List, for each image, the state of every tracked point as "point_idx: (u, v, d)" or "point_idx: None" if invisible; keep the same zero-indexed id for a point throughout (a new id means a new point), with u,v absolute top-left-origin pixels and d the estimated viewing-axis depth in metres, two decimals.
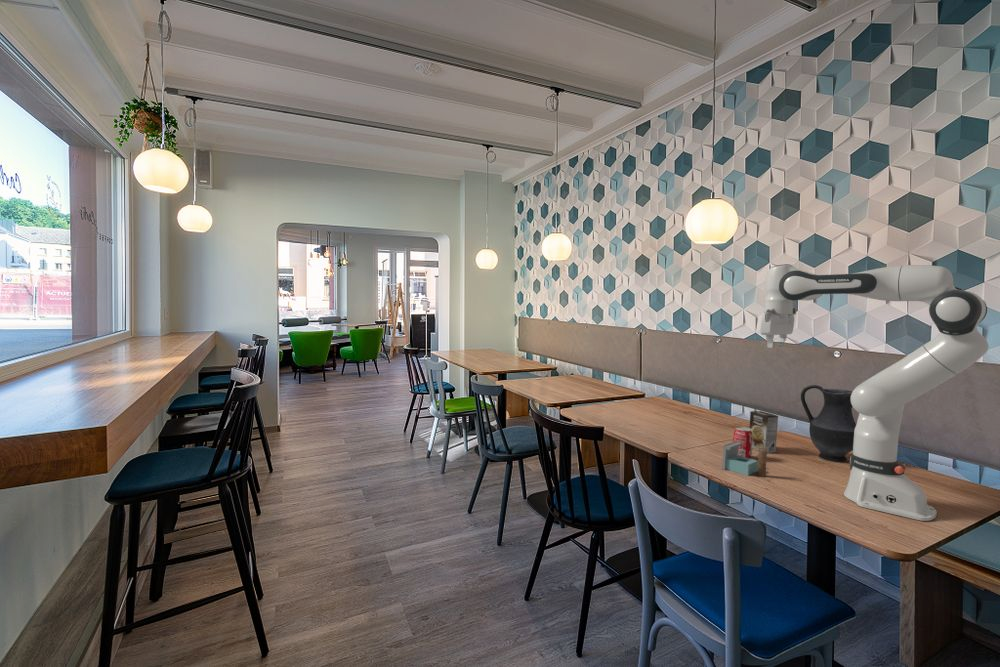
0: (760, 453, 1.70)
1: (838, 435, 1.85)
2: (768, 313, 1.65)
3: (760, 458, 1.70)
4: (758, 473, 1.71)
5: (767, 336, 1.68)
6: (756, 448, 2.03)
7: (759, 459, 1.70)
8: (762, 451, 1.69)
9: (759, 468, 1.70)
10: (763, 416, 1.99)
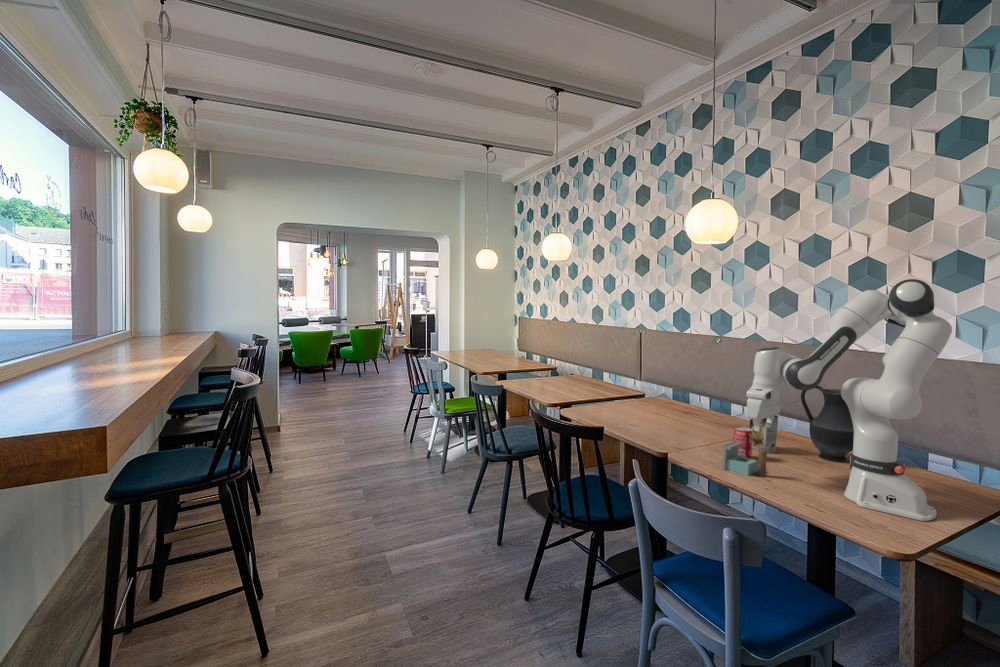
0: (760, 453, 1.70)
1: (838, 435, 1.85)
2: None
3: (760, 458, 1.70)
4: (758, 473, 1.71)
5: None
6: (756, 448, 2.03)
7: (759, 459, 1.70)
8: (762, 451, 1.69)
9: (759, 468, 1.70)
10: None
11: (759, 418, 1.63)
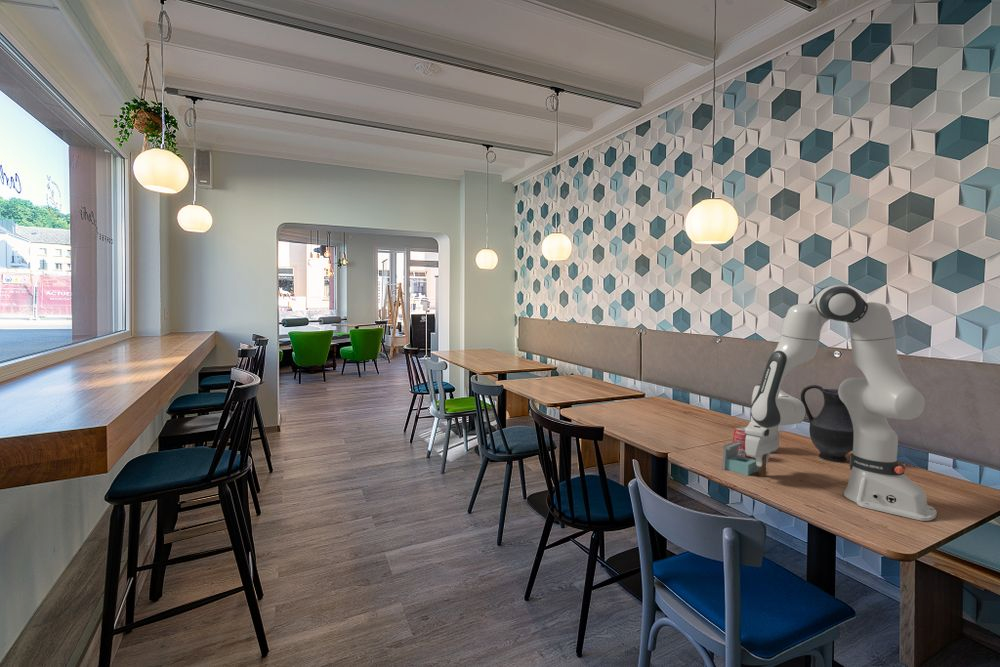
0: None
1: (838, 435, 1.85)
2: None
3: None
4: (758, 473, 1.71)
5: None
6: None
7: None
8: None
9: (759, 468, 1.70)
10: None
11: (758, 455, 1.64)
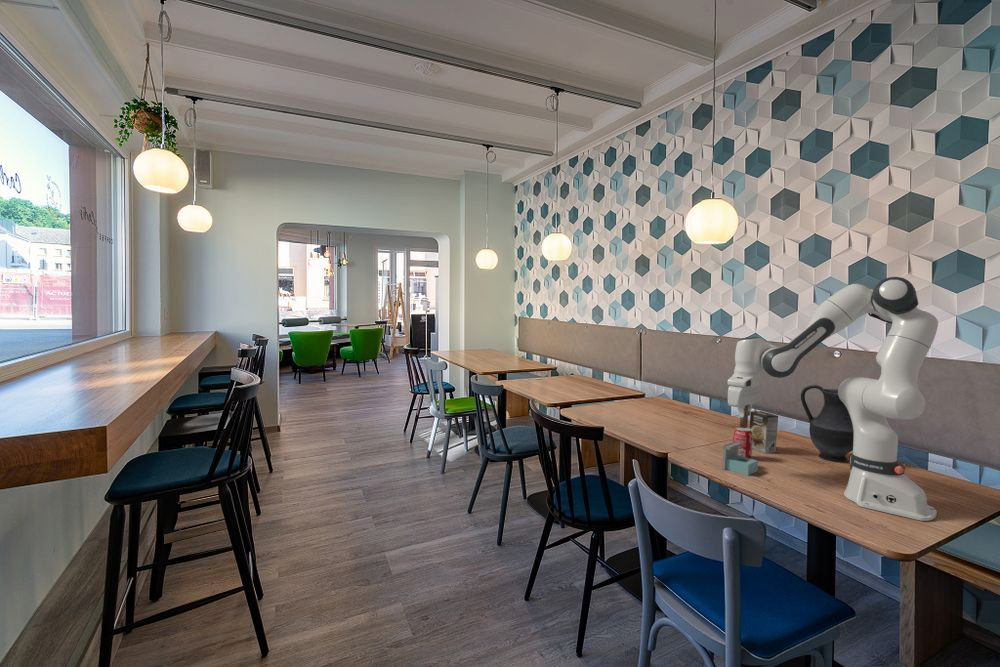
0: None
1: (838, 435, 1.85)
2: None
3: None
4: (740, 424, 1.75)
5: None
6: (756, 448, 2.03)
7: None
8: None
9: (741, 419, 1.75)
10: (763, 416, 1.99)
11: (739, 405, 1.69)
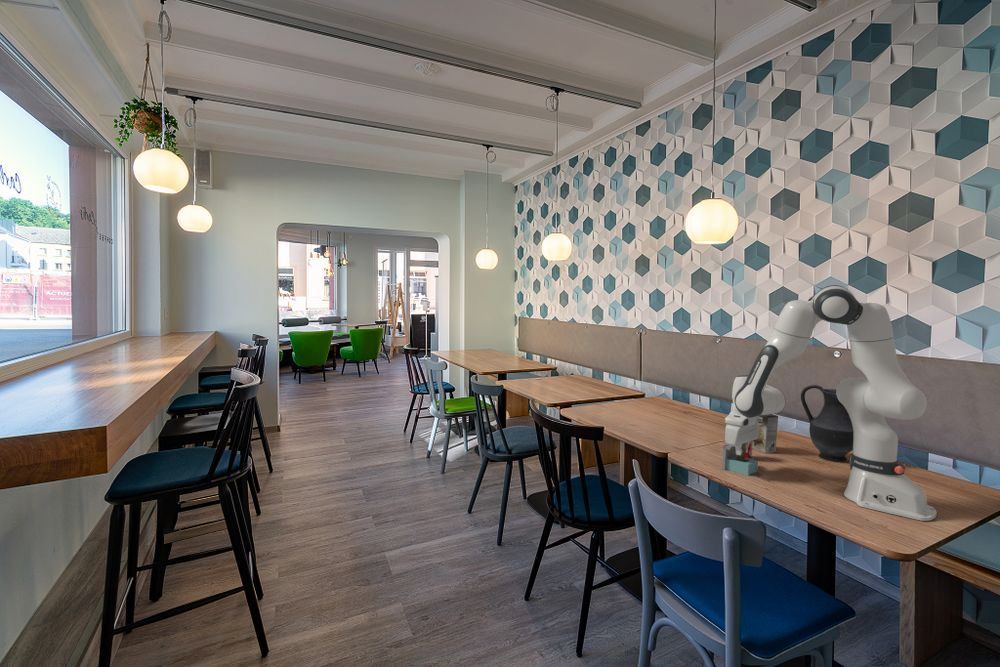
0: None
1: (838, 435, 1.85)
2: None
3: None
4: (738, 457, 1.76)
5: None
6: (756, 448, 2.03)
7: None
8: None
9: None
10: (763, 416, 1.99)
11: (737, 444, 1.69)
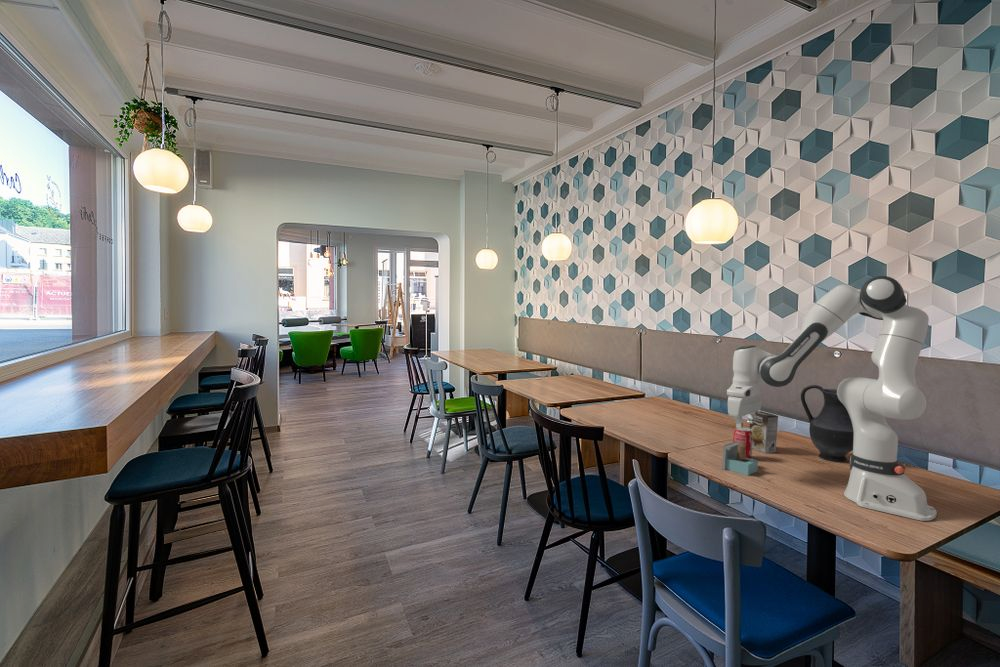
0: (739, 448, 1.75)
1: (838, 435, 1.85)
2: None
3: (739, 453, 1.75)
4: None
5: None
6: (756, 448, 2.03)
7: (738, 454, 1.76)
8: (741, 446, 1.75)
9: None
10: (763, 416, 1.99)
11: (740, 415, 1.68)
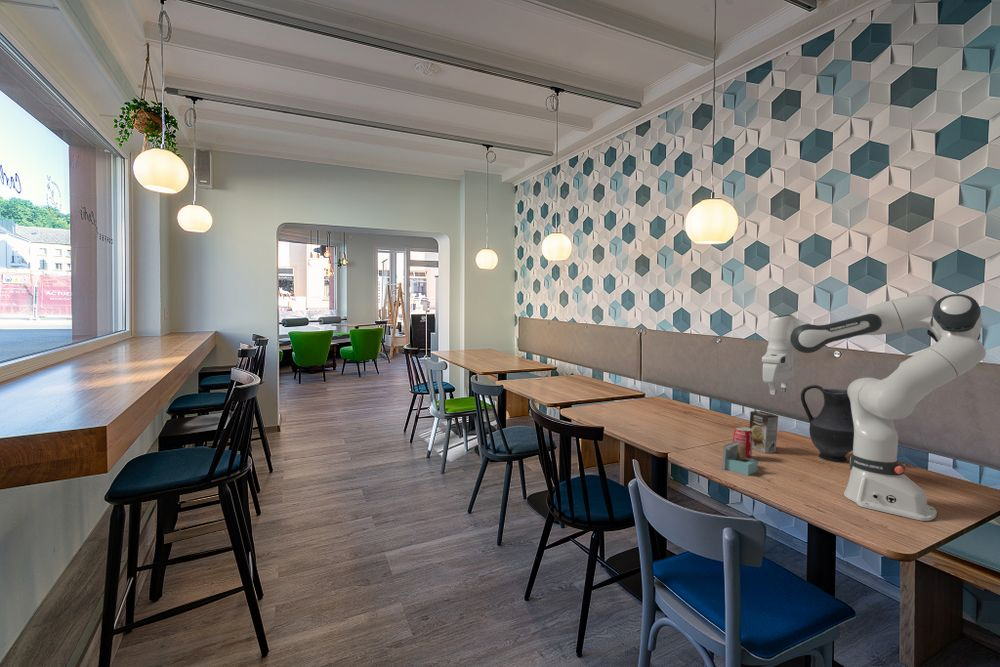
0: (739, 448, 1.75)
1: (838, 435, 1.85)
2: None
3: (739, 453, 1.75)
4: None
5: None
6: (756, 448, 2.03)
7: (738, 454, 1.76)
8: (741, 446, 1.75)
9: None
10: (763, 416, 1.99)
11: (775, 381, 1.72)
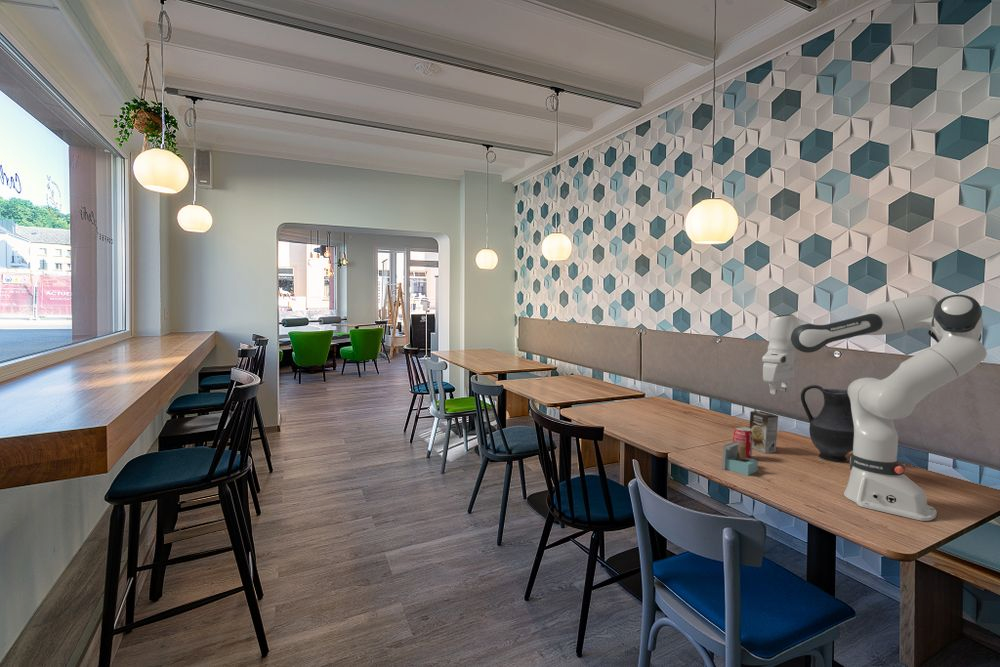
0: (739, 448, 1.75)
1: (838, 435, 1.85)
2: None
3: (739, 453, 1.75)
4: None
5: None
6: (756, 448, 2.03)
7: (738, 454, 1.76)
8: (741, 446, 1.75)
9: None
10: (763, 416, 1.99)
11: (775, 381, 1.72)
